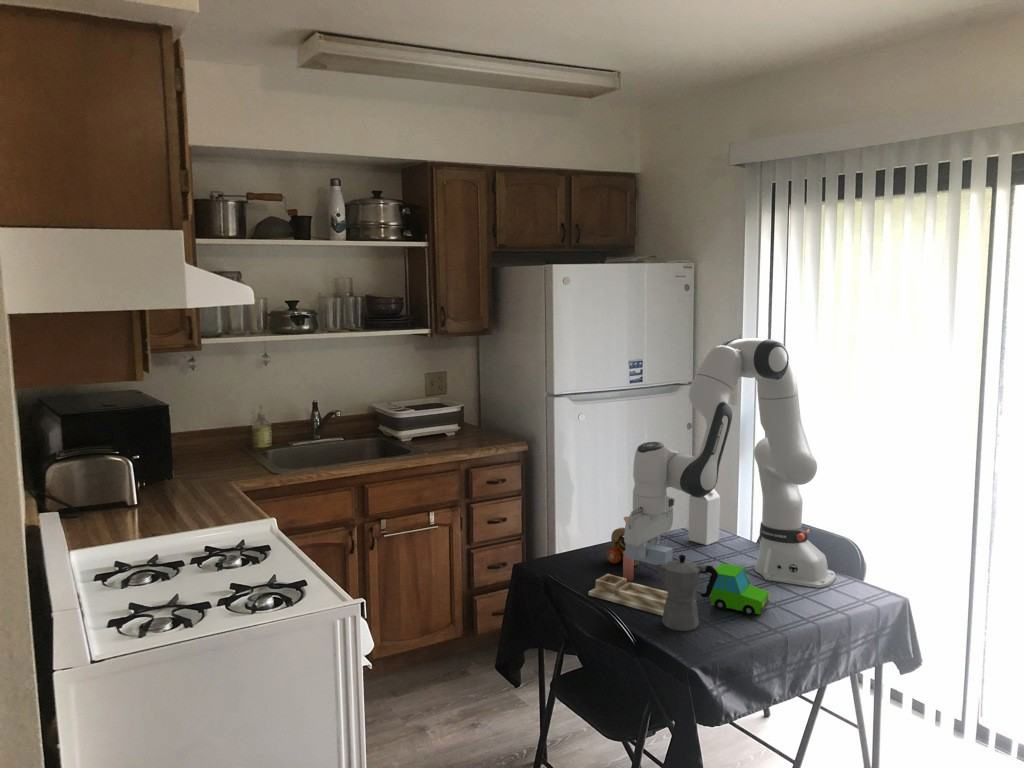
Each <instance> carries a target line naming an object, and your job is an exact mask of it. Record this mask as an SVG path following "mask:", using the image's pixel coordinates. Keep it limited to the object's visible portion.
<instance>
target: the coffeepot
mask: <svg viewBox="0 0 1024 768" xmlns="http://www.w3.org/2000/svg"><path fill="white" fill-rule="evenodd" d="M686 557H687V556H686V555H684V554H679V555H678V560H673V561H668V562H667V563H666V564H659V565H655V567H654V569H656V570H657V571H658V572H659V574H660V575H661V577H662V579H663V581H664V585H665V586H664V587H665V591H666V592H668V597H667V599H666V603H665V608H664V613H663V616H662V619H661V622H662V624H663V625H664V626H665V628H668V629H670V630H672V631H679V632H681V631H682V632H690V631H692V630H696V629H697V628H698V626H699V625H700V618H699V612H698V606H697V600H696V597H695V596H696V594H697V592H698V586H699V582H700V576H701V574H710V576H709V579H708V583H707V585H706V591H705V592H704V593H700V596H701V597H702V598H709V597H711V592H712V589H713V587H714V584H715V582H716V580H717V578H718V572H717V571H716V570H715V569H716V568H714V566H712V565H705V564H697V563H696V562H692V561H687V560H686Z"/></svg>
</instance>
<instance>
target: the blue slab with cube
mask: <svg viewBox="0 0 1024 768" xmlns="http://www.w3.org/2000/svg"><path fill="white" fill-rule="evenodd" d="M645 548H646V550H648V553H647V556H646V557H644V558H642V557H639V550H638V547H632V546H628V545H626V547H625V557H626V558H630V559H634V560H638V561H639V562H642V563H648V564H651V565H655V566H657V565H659V564H666V563H667V562H668V561H674V559H673V558H674V557H673V553H674V548H672V547H670V546H669V547H668V546H664V545H660V544H658V545H656V544H652V543H651V542H648V541H647V542H646V545H645Z"/></svg>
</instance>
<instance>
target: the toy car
mask: <svg viewBox="0 0 1024 768" xmlns="http://www.w3.org/2000/svg"><path fill="white" fill-rule="evenodd" d="M714 569H715V570H716V571H717V572H718V578H717V580H716V582H715V584H714V587H713V589H712V592H711V594H710V605H713V606H714V607H715V608H716V609H717V610H718V609H719V610H718V611H724V610H725V609H732V610H736V611H740V612H743V614H744V615H745V616H747V617H753V616H754V615H755V614H756V615H761V614H762V613H763V611H764V610H765V609H766V608H767V607H768V605H769V604H770V597H771V596H770V592H769V591H768V590H765V589H762V588H760V587H757V586H754V585H751V584H750V581H749V578H748V575H747V571H746V568H745V567H744V566H739V565H735V564H729V563H725V562H724V563H723V562H721V563H720V564H719V565H718V566H717V567H716V568H714Z"/></svg>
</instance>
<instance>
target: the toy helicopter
mask: <svg viewBox="0 0 1024 768" xmlns="http://www.w3.org/2000/svg"><path fill="white" fill-rule="evenodd" d="M628 517H629V516H624V517H623V520H624V522H625V523H626V520H627V518H628ZM624 534H625V527H619V528H616V529H614V530H612V533H611V537H610V538H611V540H610V541H611V545H612V547H610V548H608V549H607V551H606V558H607V560H608V561H609V562H610V563H611V564H614V563H615V564H618V563H619V562H621V560H622V561H623V552H624V551H625V547H626V544H625V542H624ZM639 564H640V561H638V560H634V567H636V566H638V565H639Z"/></svg>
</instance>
